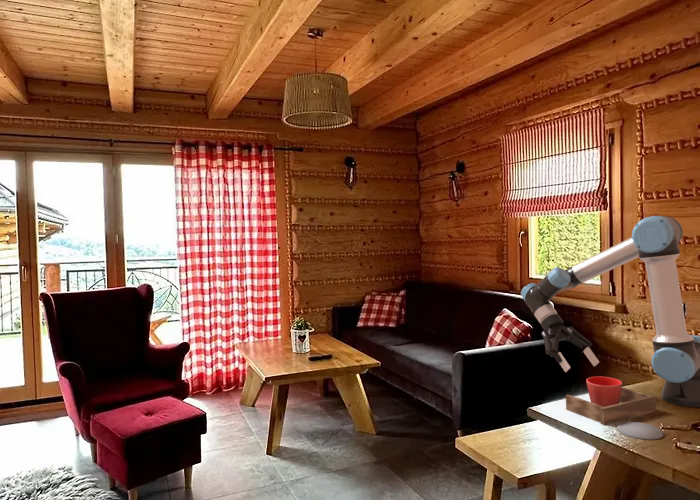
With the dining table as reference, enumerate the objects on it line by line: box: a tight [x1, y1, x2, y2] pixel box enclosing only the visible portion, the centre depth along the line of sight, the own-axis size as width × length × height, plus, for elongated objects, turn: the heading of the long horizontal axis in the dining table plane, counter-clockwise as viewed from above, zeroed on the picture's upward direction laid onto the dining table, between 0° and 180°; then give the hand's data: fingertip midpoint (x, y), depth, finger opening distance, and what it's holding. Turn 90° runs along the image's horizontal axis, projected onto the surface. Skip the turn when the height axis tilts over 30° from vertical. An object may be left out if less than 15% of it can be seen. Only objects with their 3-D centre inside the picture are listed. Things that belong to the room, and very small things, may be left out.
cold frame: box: [565, 386, 657, 426], centre depth 169 cm, size 16×24×5 cm, turn 113°
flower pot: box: [585, 376, 623, 407], centre depth 170 cm, size 11×11×10 cm
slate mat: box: [616, 421, 664, 441], centre depth 151 cm, size 12×12×1 cm
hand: (582, 367), depth 178 cm, fingers open, 13 cm apart
